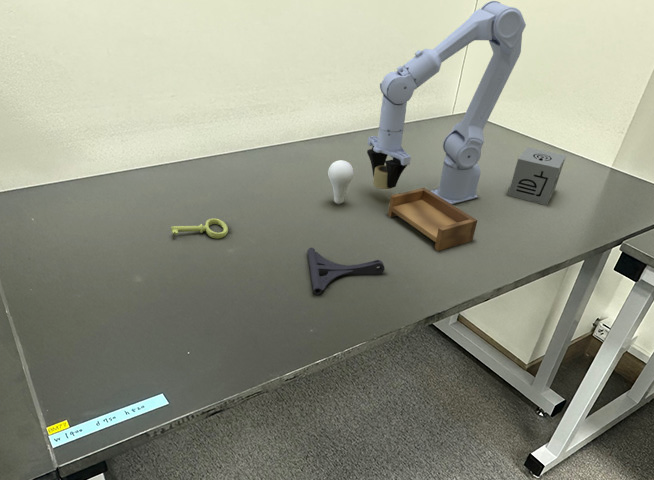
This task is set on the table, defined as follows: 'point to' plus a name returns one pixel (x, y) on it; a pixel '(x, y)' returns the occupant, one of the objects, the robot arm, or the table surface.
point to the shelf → (433, 217)
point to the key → (203, 228)
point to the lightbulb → (340, 179)
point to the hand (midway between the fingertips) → (384, 182)
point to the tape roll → (380, 177)
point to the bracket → (336, 270)
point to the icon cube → (536, 175)
